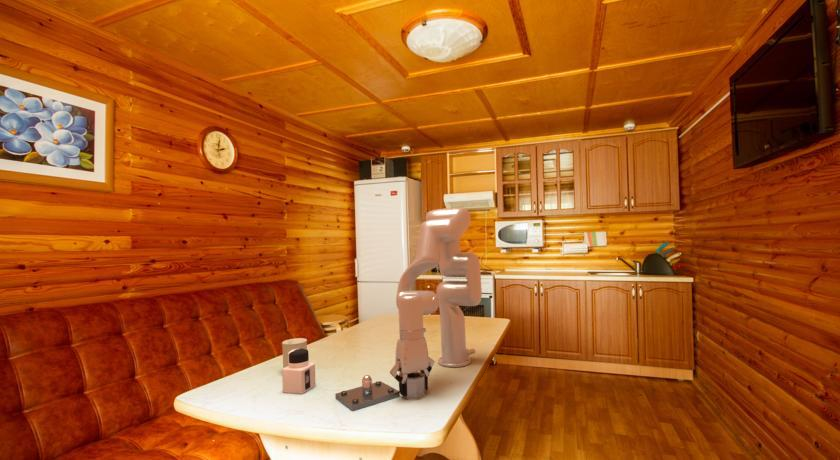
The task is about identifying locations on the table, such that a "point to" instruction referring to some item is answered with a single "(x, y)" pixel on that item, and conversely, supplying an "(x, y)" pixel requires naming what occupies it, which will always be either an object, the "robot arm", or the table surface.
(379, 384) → the shaft block
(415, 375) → the hub ring
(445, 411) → the table surface
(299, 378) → the container
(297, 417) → the table surface
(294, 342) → the can
